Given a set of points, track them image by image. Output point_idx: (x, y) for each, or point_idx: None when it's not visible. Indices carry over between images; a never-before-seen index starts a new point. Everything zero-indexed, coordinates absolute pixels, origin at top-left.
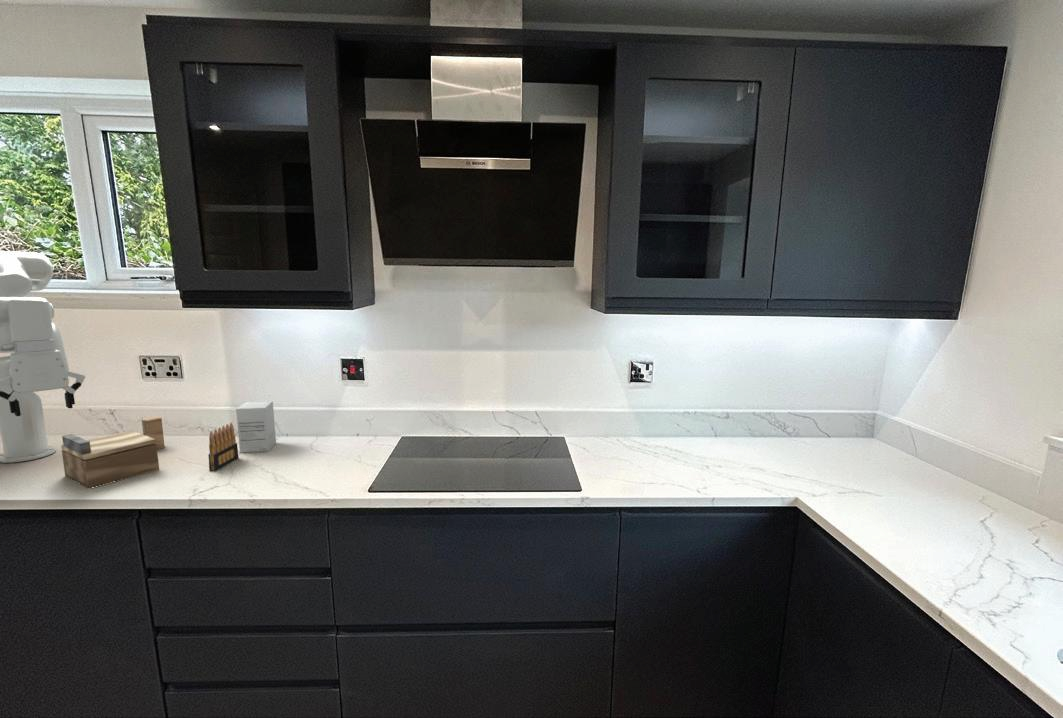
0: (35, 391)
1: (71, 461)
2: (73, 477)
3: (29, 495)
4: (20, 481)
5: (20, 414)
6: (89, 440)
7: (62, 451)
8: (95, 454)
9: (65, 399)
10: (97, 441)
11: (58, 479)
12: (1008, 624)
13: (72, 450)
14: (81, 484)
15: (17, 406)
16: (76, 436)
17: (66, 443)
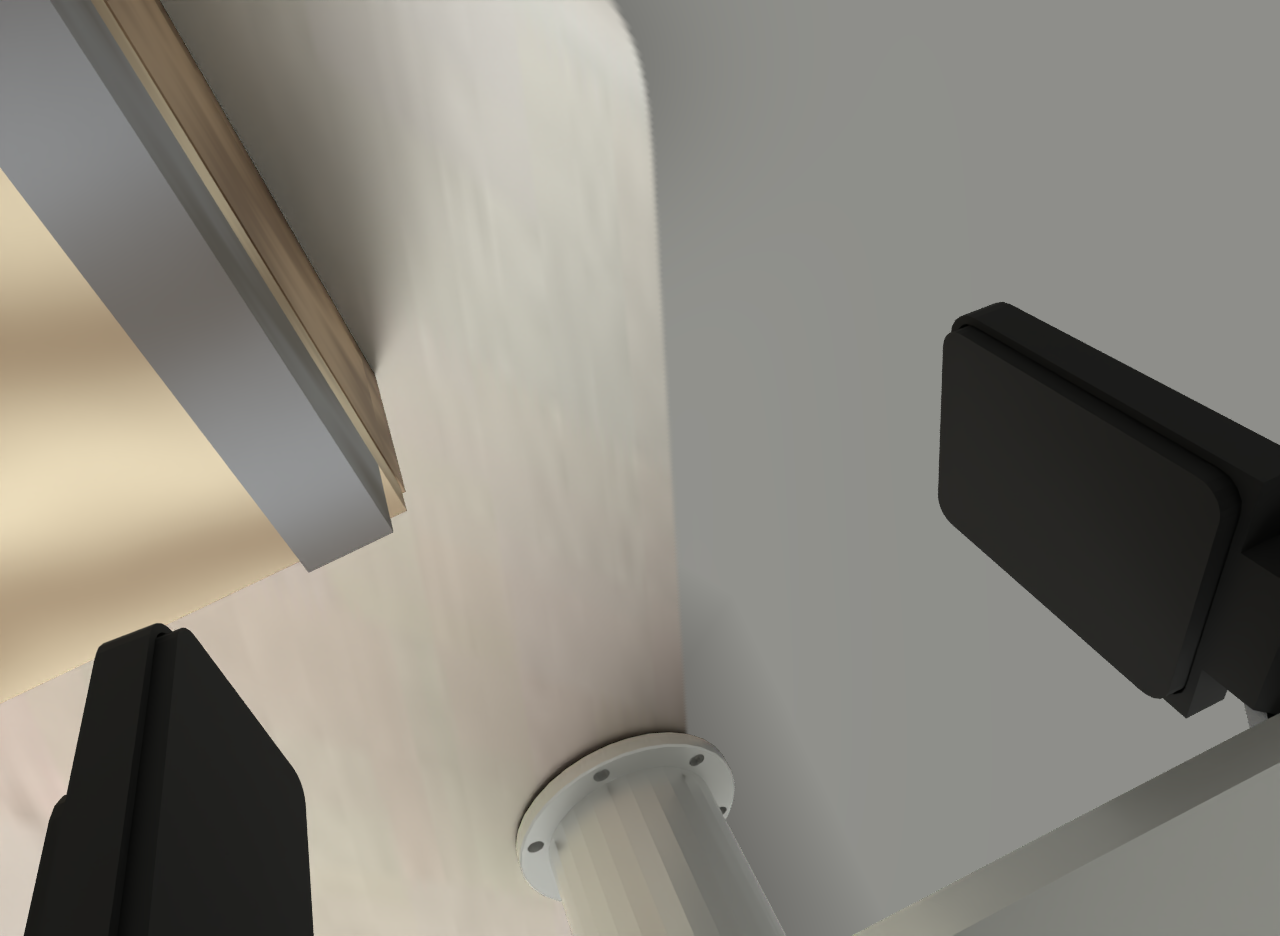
0: (1162, 782)
1: (284, 270)
2: (283, 224)
3: (533, 31)
4: (615, 409)
5: (962, 336)
6: (170, 576)
7: (394, 471)
8: None
9: (299, 933)
10: (54, 504)
11: (406, 326)
12: None
13: (240, 242)
14: (182, 43)
15: (1139, 396)
16: (217, 440)
17: (333, 412)
